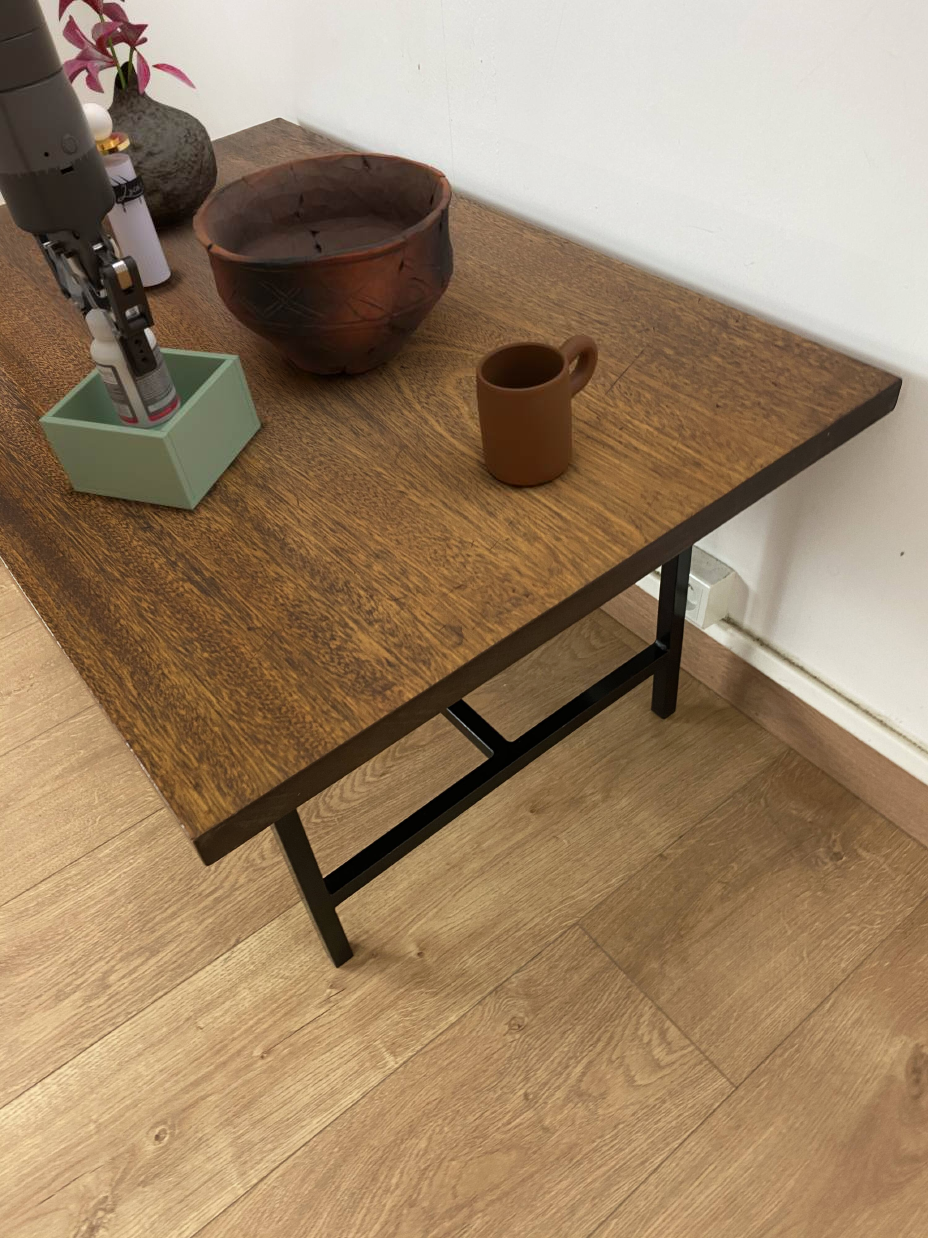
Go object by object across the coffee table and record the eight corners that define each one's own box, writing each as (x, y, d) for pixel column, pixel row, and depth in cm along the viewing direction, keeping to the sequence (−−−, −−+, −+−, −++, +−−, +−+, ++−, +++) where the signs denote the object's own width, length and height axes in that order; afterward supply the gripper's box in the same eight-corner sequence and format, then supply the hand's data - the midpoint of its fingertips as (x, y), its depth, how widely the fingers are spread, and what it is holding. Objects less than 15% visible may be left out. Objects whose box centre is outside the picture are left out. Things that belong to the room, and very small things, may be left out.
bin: (192, 510, 78) (162, 437, 73) (74, 490, 82) (37, 420, 76) (261, 426, 86) (238, 354, 81) (150, 412, 90) (121, 343, 84)
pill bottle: (181, 392, 82) (143, 290, 75) (182, 423, 79) (141, 320, 72) (122, 404, 82) (78, 303, 75) (120, 437, 78) (73, 334, 71)
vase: (84, 243, 121) (-29, -27, 99) (150, 189, 132) (63, -65, 110) (193, 247, 116) (100, -35, 94) (253, 190, 127) (182, -74, 105)
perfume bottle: (120, 288, 110) (49, 109, 95) (157, 268, 113) (93, 91, 98) (150, 298, 107) (81, 115, 93) (187, 277, 110) (125, 96, 95)
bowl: (515, 310, 96) (505, 161, 85) (376, 436, 83) (343, 278, 72) (336, 270, 107) (306, 134, 96) (188, 375, 94) (134, 231, 83)
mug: (564, 403, 83) (562, 308, 76) (626, 436, 79) (629, 338, 72) (466, 463, 79) (454, 368, 72) (526, 501, 74) (519, 403, 67)
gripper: (-47, 145, 67) (52, 351, 79) (32, 188, 59) (128, 410, 71) (47, 113, 70) (128, 316, 82) (134, 150, 62) (210, 369, 74)
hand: (128, 359), depth 76 cm, fingers closed on pill bottle, 5 cm apart
